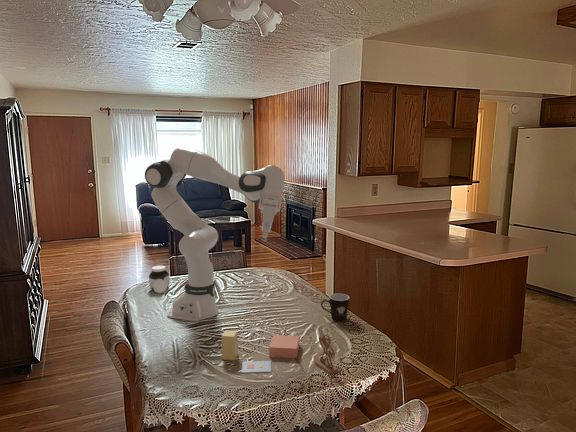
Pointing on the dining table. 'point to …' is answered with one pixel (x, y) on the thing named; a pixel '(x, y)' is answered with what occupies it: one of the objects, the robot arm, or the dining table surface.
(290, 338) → the base brick
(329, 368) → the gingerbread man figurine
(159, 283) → the spread jar
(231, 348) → the ochre brick
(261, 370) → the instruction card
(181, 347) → the dining table surface
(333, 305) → the coffee mug
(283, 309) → the dining table surface
